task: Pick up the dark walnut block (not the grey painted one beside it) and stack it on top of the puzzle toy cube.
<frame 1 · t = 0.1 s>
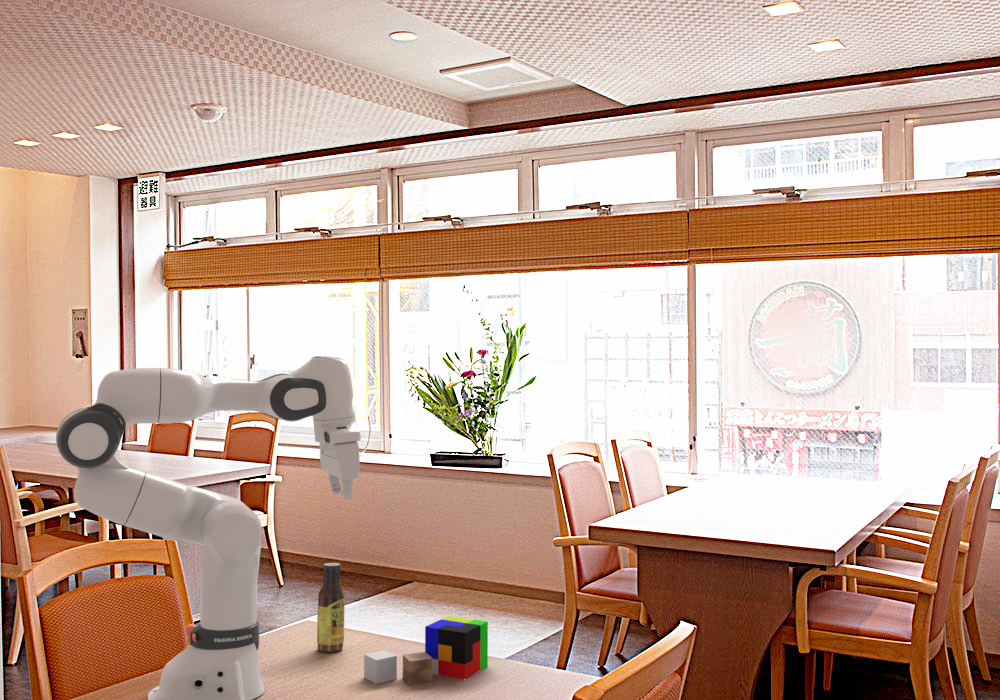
hand: (341, 495, 202), 39 cm above the table, tool pointing down, fingers open, 8 cm apart
grey block: (380, 678, 202), on the table
sauce bottle: (330, 650, 222), on the table
puzzle toy: (456, 670, 208), on the table
walnut block: (417, 680, 201), on the table
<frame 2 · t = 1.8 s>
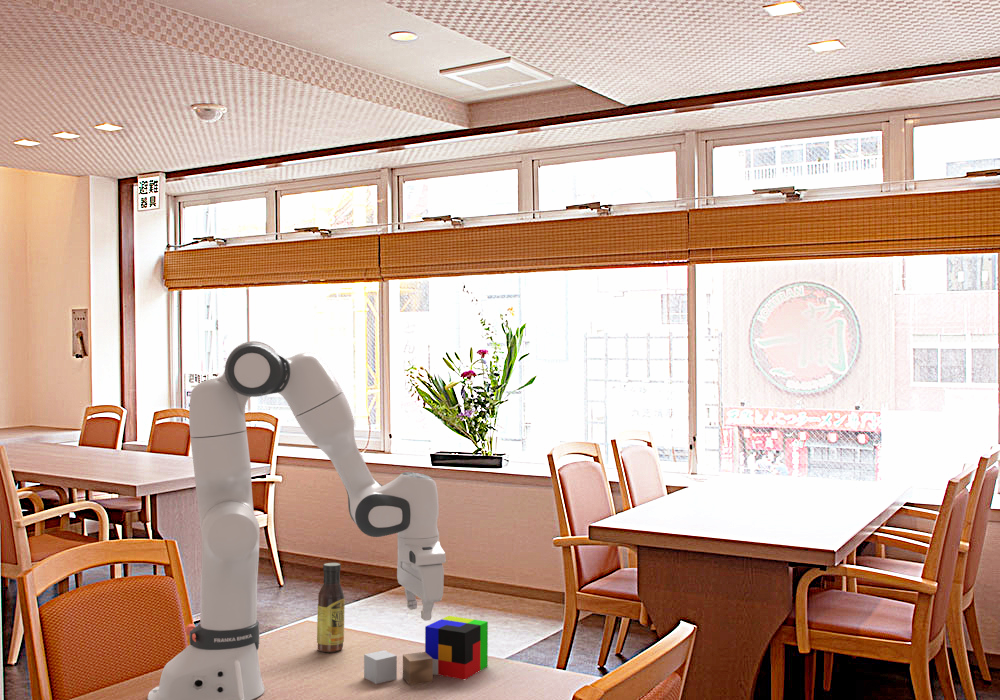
hand: (419, 614, 201), 14 cm above the table, tool pointing down, fingers open, 8 cm apart
nothing on the table moved.
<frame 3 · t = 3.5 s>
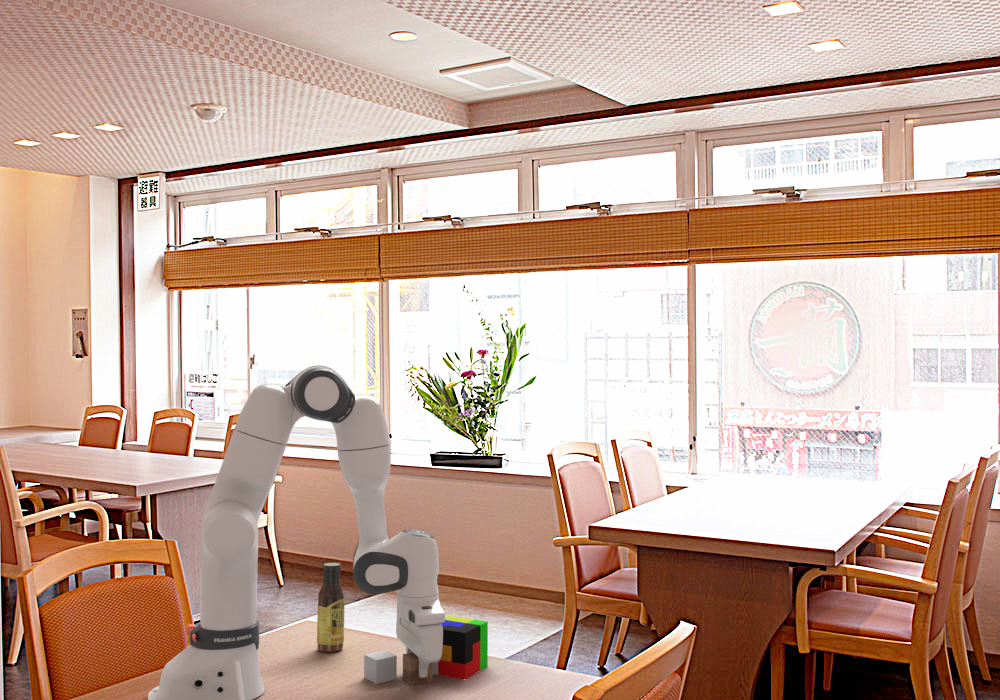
hand: (417, 671, 201), 2 cm above the table, tool pointing down, fingers closed on walnut block, 5 cm apart
walnut block: (417, 679, 201), on the table, touching gripper
everything else where it was.
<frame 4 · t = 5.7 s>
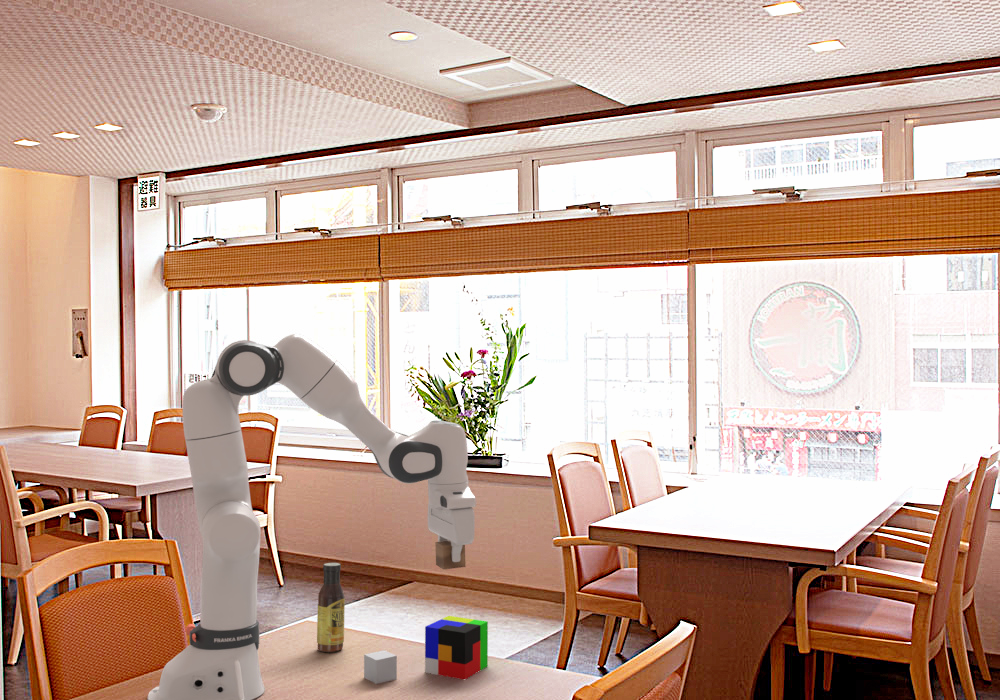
hand: (450, 558, 206), 25 cm above the table, tool pointing down, fingers closed on walnut block, 5 cm apart
walnut block: (450, 565, 206), point 23 cm above the table, touching gripper
everything else where it was.
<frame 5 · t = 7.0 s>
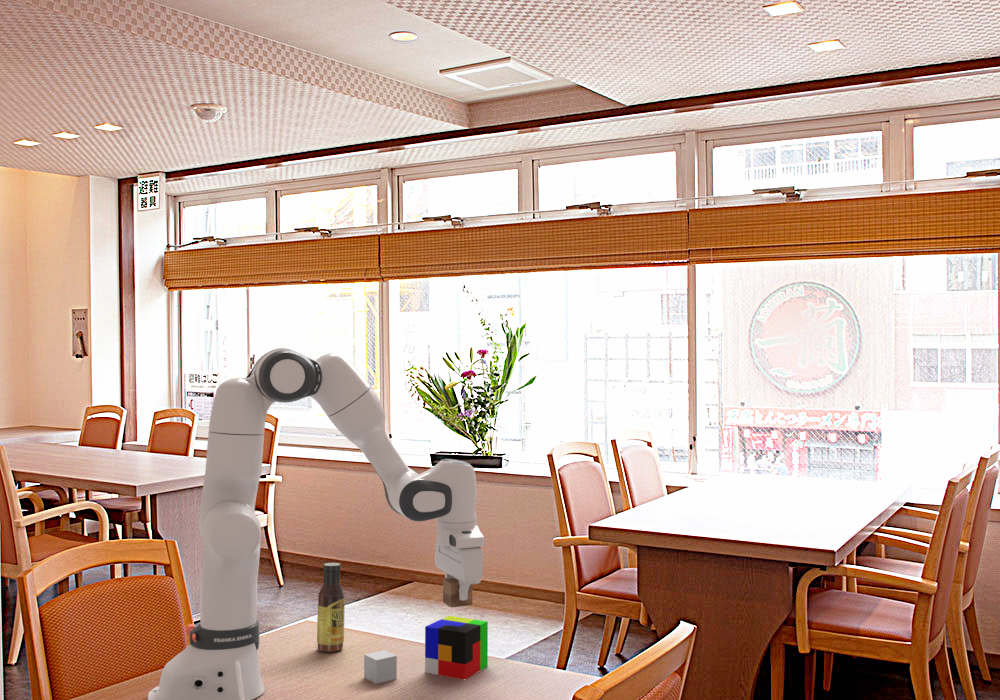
hand: (457, 596, 208), 16 cm above the table, tool pointing down, fingers closed on walnut block, 5 cm apart
walnut block: (457, 603, 208), point 14 cm above the table, touching gripper
everything else where it was.
when the fingers open (13 cm above the table, at t = 7.9 s): walnut block drops 2 cm, resting on puzzle toy.
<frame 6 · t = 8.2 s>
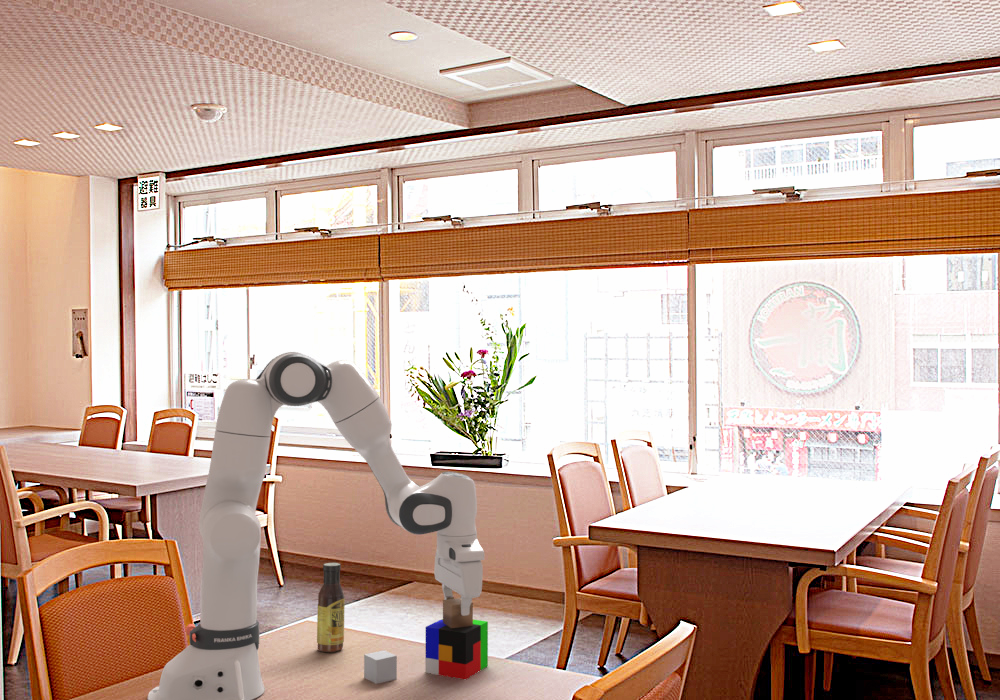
hand: (456, 609, 208), 13 cm above the table, tool pointing down, fingers open, 8 cm apart
puzzle toy: (456, 670, 208), on the table, touching walnut block
walnut block: (457, 624, 208), point 10 cm above the table, touching puzzle toy
everything else where it was.
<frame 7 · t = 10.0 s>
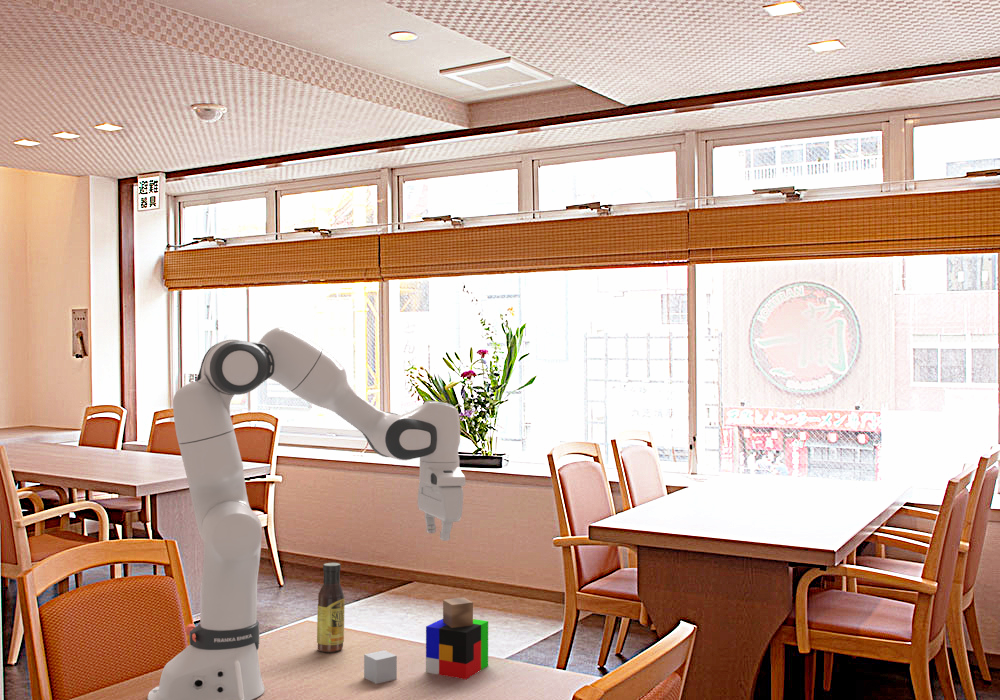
hand: (437, 536, 211), 29 cm above the table, tool pointing down, fingers open, 8 cm apart
nothing on the table moved.
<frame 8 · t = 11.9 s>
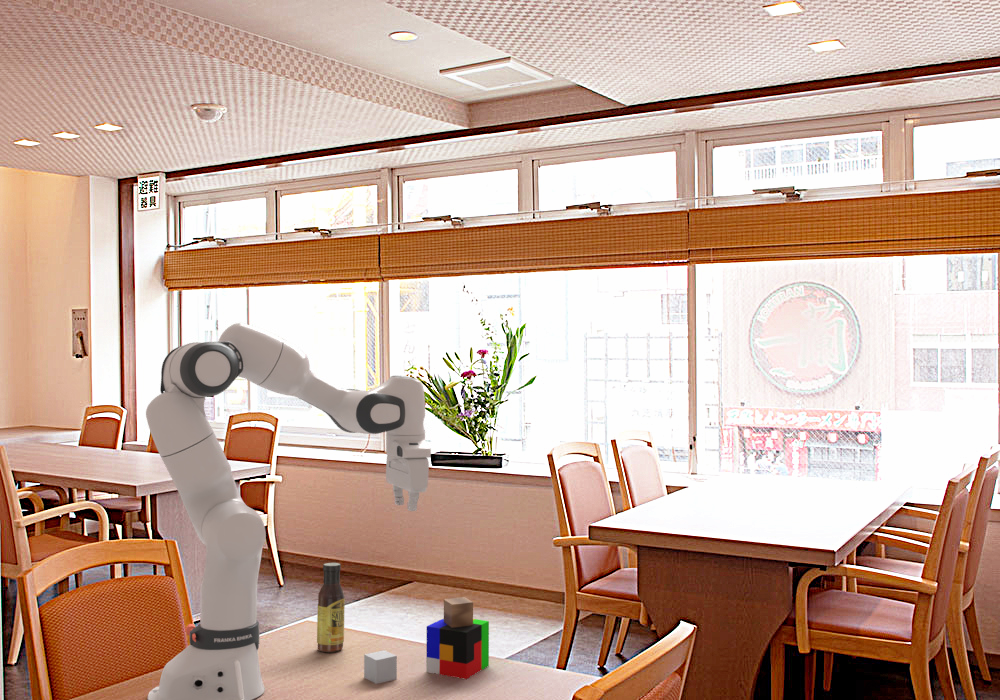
hand: (405, 507, 216), 34 cm above the table, tool pointing down, fingers open, 8 cm apart
nothing on the table moved.
at the end: walnut block inside the target area on the puzzle toy (0.1 cm from its centre), point 10.2 cm above the puzzle toy's base; the gripper is holding nothing; puzzle toy moved 0.6 cm from its start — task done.
